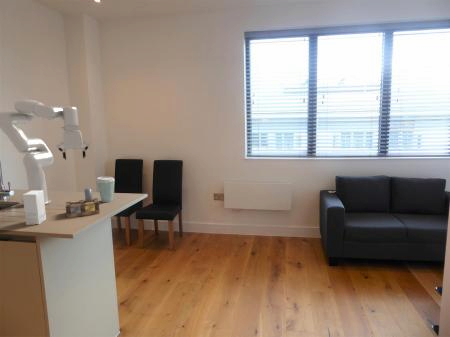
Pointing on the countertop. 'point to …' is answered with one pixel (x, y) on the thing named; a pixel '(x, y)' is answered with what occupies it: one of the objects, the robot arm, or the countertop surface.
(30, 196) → the skincare box
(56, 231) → the countertop surface
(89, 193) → the peg
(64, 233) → the countertop surface
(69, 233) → the countertop surface
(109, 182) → the disposable coffee cup
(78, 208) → the socket block
